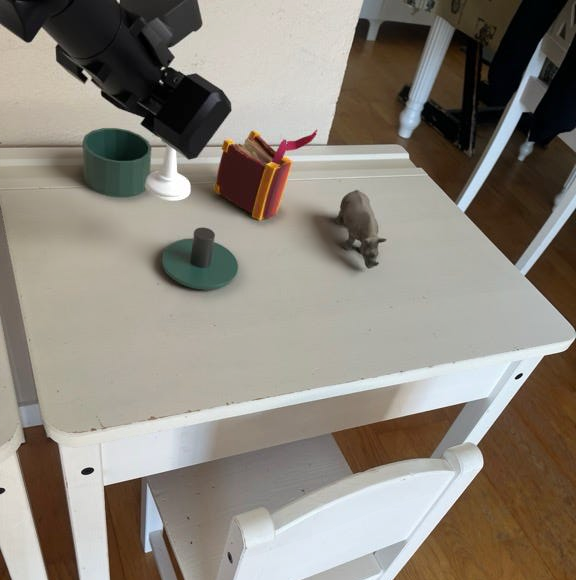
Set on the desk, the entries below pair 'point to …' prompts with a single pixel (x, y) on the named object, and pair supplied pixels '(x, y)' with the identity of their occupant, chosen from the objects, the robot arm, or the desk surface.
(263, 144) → the book monster
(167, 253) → the pot lid
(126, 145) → the pot
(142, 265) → the desk surface
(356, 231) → the rhino figurine
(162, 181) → the chess piece
